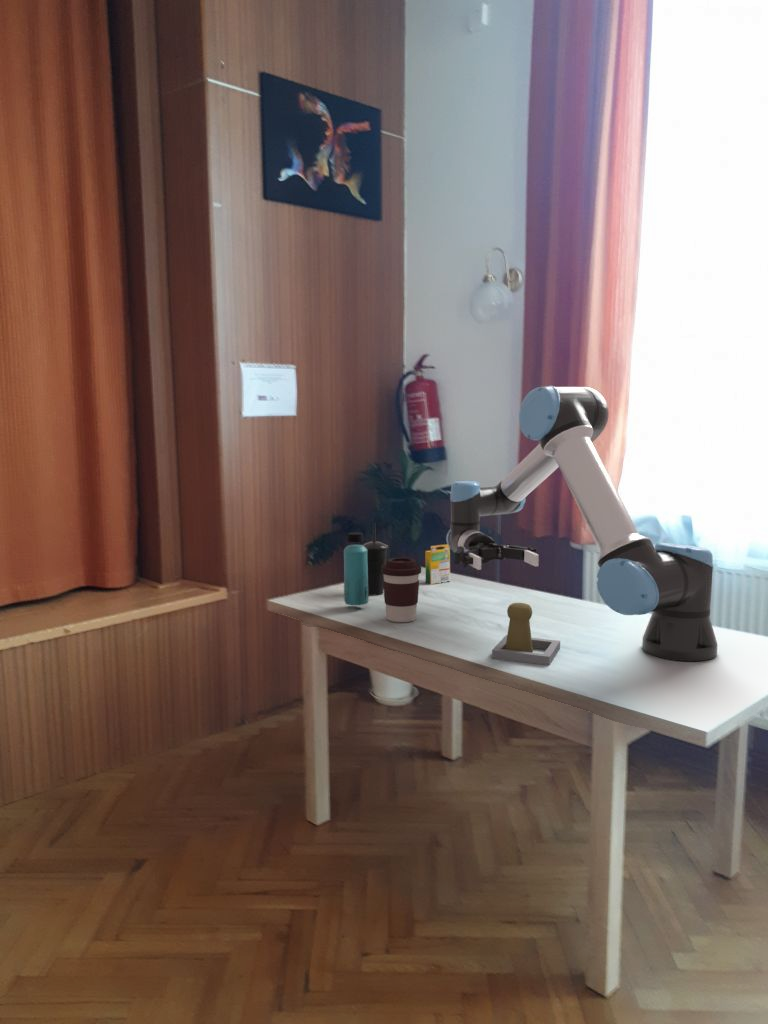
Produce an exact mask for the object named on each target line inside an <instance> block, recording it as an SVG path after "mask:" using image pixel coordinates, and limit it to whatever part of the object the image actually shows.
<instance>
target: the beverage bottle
mask: <svg viewBox="0 0 768 1024" xmlns="http://www.w3.org/2000/svg"><path fill="white" fill-rule="evenodd" d="M363 536H364V535H363V533H362V532H348V533H347V540H346V541H347V542H348V543H349V542H350V543H360V542H363V541H364V537H363ZM363 545H364V544H349V545H347V546H346V547H344V549H343V598H344V603H345V604H346V605H349V606H364V605H367V604H368V603H369V598H370V595H369V587H368V579H369V577H368V564H367V551H368V550H367V549H366V548H365V547H364V546H363Z"/></svg>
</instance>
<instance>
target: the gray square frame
mask: <svg viewBox="0 0 768 1024" xmlns="http://www.w3.org/2000/svg"><path fill="white" fill-rule="evenodd" d="M531 639H532V648H533V649H539V650H545V651H544V653H540V652H533V653H532V652H523V651H515V650H506V649H505V647H506V640H507V634H506V635H505V636H504V637H503V638H502V639H501V640H500V641H499V642H498V643H497V644H496V645H495V646H494V647H493V648H492V650H491V659H494V660H501V661H510V662H517V661H520V662H519V663H526V662H527V664H534V663H535V665H544V666H550V665H551V663H552V662H553V660H554V659H555V657H556V656H557V654H558V653H559V652H560V649H561V640H555V639H547V638H540V637H539V638H538V637H537V638H536V637H531Z"/></svg>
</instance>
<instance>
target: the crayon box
mask: <svg viewBox="0 0 768 1024" xmlns="http://www.w3.org/2000/svg"><path fill="white" fill-rule="evenodd" d="M437 548H438V549H437ZM439 548H440V549H439ZM441 548H442V549H441ZM424 552H425V553H424V554H425V556H424V558H425V583H426V584H427V583H428V585H430V584H432V585H436V583H437V584H442V583H441V582H443V583H448V582H447V581H450V582H451V549H450V548H449V546H448V544H447V543H446V544H437V545H431V546H430V550H425V551H424Z"/></svg>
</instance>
